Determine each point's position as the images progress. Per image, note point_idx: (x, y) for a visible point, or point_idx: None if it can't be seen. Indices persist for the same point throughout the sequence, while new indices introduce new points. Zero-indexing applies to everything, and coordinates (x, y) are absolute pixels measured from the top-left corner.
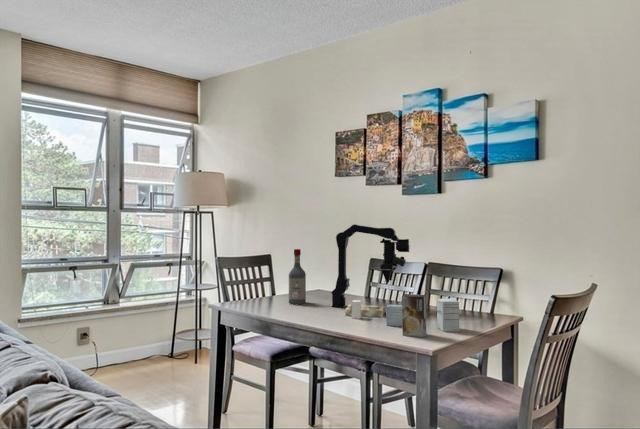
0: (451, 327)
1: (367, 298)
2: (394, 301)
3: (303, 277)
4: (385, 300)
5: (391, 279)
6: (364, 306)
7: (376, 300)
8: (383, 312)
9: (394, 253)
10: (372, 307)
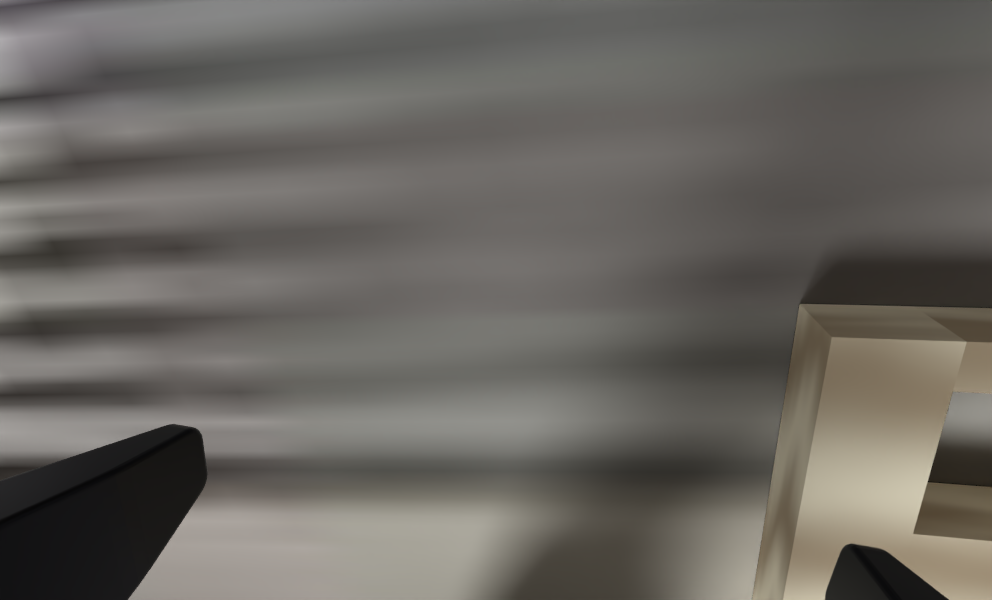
0: None
1: None
2: (45, 203)
3: None
4: (40, 310)
5: (172, 445)
6: None
7: (88, 403)
8: (986, 315)
9: None
10: (918, 486)
